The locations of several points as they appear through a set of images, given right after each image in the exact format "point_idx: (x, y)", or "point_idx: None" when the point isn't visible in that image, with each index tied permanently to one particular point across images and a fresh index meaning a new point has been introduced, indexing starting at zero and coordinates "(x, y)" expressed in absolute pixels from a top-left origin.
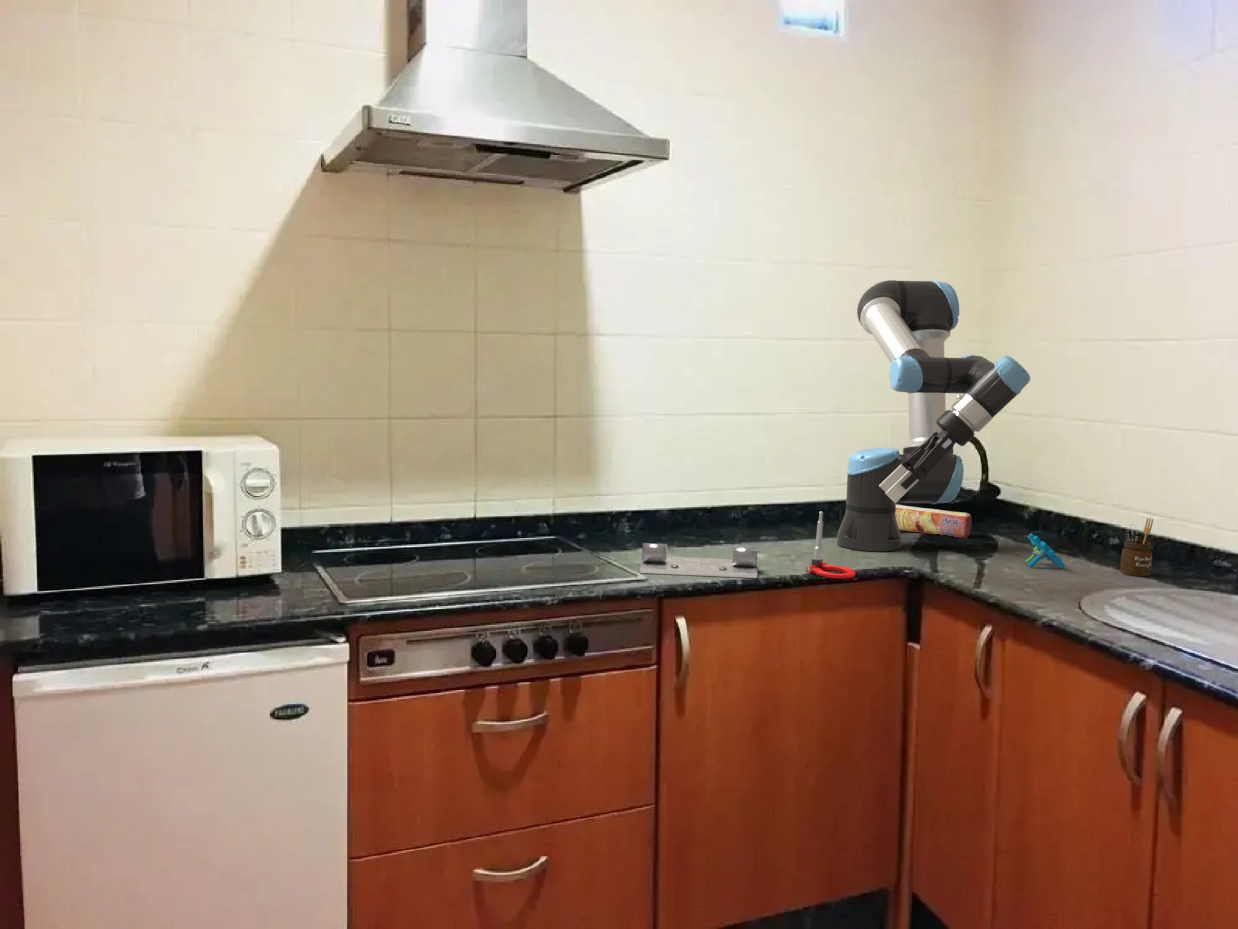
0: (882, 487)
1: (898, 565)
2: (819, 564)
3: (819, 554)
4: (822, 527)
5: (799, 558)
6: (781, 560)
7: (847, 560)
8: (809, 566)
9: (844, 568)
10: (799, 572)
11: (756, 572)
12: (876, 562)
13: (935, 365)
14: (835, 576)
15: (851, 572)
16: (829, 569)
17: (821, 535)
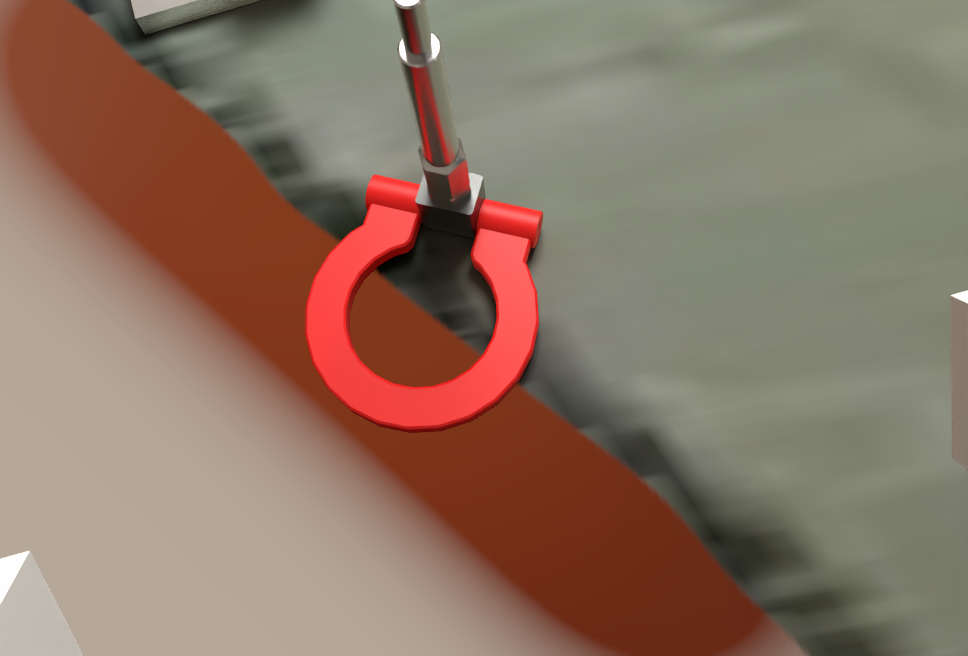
0: (964, 345)
1: (914, 621)
2: (436, 217)
3: (428, 185)
4: (416, 90)
5: (724, 70)
6: (615, 13)
7: (847, 298)
8: (387, 181)
9: (496, 349)
10: (372, 157)
11: (153, 10)
12: (910, 468)
13: None
14: (309, 346)
15: (424, 407)
16: (483, 275)
17: (420, 122)
